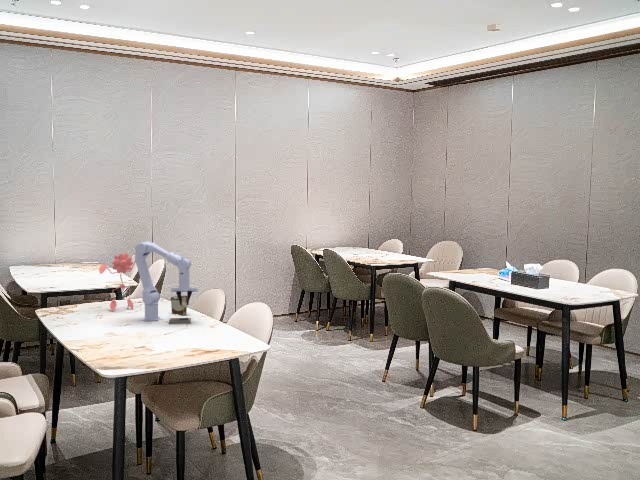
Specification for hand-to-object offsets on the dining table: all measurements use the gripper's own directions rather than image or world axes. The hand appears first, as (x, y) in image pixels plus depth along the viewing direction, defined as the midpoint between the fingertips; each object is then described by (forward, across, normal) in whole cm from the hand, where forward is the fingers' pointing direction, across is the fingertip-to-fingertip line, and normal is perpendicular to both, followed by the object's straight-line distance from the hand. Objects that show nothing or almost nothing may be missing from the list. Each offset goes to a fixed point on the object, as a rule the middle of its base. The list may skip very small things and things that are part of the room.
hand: (184, 304), depth 346 cm
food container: (+10, -3, +22) cm, 25 cm away
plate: (+10, -2, 0) cm, 10 cm away
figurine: (+10, -38, +34) cm, 52 cm away
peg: (+1, 0, 0) cm, 1 cm away
